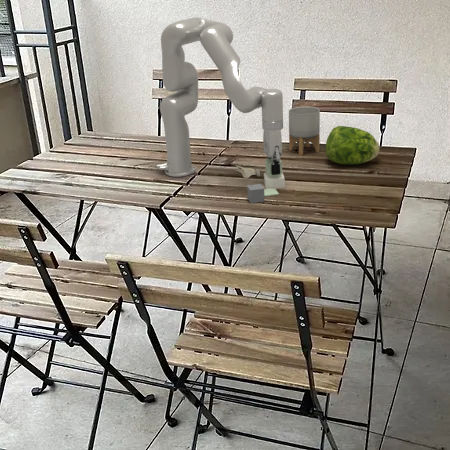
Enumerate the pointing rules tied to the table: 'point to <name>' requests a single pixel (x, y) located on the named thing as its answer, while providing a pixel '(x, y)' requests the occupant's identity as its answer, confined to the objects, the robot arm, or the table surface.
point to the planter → (304, 127)
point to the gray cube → (255, 193)
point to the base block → (274, 181)
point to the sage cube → (268, 167)
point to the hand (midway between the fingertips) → (273, 171)
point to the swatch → (270, 192)
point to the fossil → (247, 172)
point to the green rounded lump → (351, 146)
